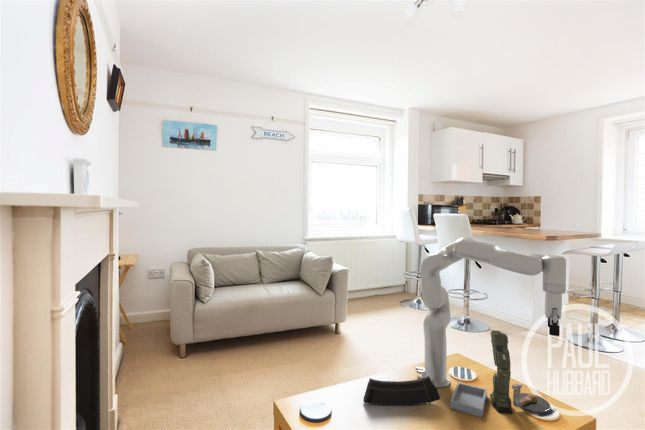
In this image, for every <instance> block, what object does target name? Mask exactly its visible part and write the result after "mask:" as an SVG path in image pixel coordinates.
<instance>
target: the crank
mask: <svg viewBox="0 0 645 430" xmlns="http://www.w3.org/2000/svg"><path fill="white" fill-rule="evenodd" d="M522 388H523V384H521V382H520V383H519V382H518V383H515V384H512V385H511V389H513V390H512V391H513V392H512V393H513V398H512V399H513V400H512V401H513V404H512V405H513V406H514V407H515V408H520V406H521V405H524V404H527V403H530V402H532V403H537V400H538V397H537V396H538V395H537V396H536V394H533V393H529V394H527V397H524V398H521V399H520V393H521V389H522Z"/></svg>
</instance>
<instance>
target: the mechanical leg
mask: <svg viewBox="0 0 645 430" xmlns="http://www.w3.org/2000/svg"><path fill="white" fill-rule="evenodd" d="M490 339H491V340H490V342H491V347H492V356H493V363H494V366H495V367H496V373H494V374H493V376H492V386H493V390H492V393H490V394H489V398H490V400H491V402H490V403H491V406H492V407H494V408H495V410H496V412H497V413H499V414H505V415H506V414H507V415H512V414H513V411H512V399H511V397H510V382H511V381H510V380H511V373H512V371H511V356H510V351H509V348H508V347H509V346H508V344H509V337H508V335H507V334H506V333H503V332H502V331H500V330H491V331H490Z"/></svg>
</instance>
